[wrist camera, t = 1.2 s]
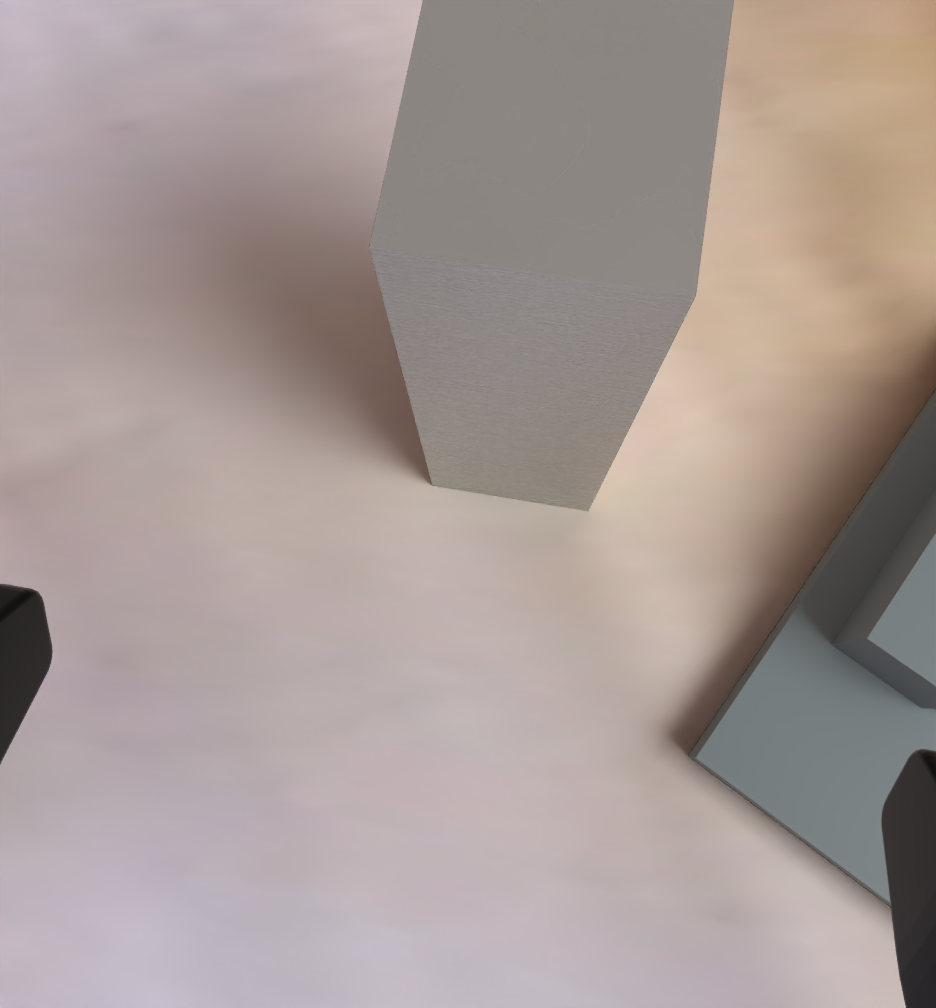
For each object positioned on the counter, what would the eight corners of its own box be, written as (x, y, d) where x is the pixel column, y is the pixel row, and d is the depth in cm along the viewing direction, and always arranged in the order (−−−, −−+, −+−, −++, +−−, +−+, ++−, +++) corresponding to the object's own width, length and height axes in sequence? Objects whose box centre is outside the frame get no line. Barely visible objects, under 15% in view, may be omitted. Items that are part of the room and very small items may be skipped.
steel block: (588, 511, 22) (696, 295, 11) (432, 485, 23) (369, 247, 11) (615, 328, 23) (740, -51, 12) (466, 305, 24) (442, -87, 12)
